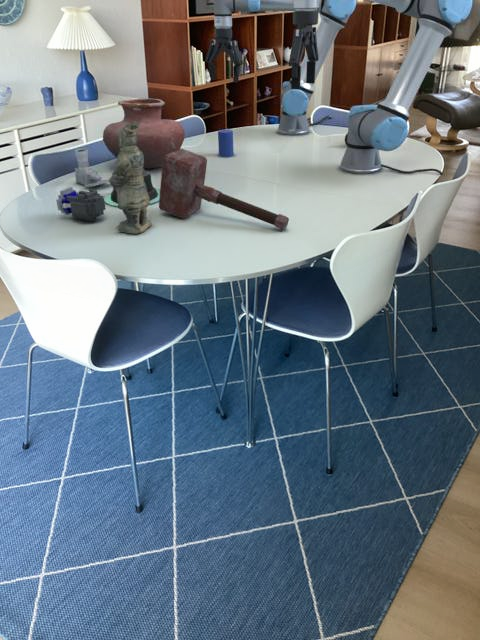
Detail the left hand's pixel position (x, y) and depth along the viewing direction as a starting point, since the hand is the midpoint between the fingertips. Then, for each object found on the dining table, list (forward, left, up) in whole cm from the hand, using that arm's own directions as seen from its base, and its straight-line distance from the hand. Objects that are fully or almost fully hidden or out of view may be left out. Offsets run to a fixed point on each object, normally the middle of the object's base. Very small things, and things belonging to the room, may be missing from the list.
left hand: (224, 81), depth 248 cm
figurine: (-26, +57, -25) cm, 67 cm away
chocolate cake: (+86, +29, -25) cm, 94 cm away
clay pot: (+57, +5, -25) cm, 62 cm away
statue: (+107, +50, -25) cm, 121 cm away
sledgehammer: (+87, +68, -25) cm, 113 cm away
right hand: (+46, +69, +8) cm, 83 cm away
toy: (+110, +31, -25) cm, 117 cm away
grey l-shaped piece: (+85, +5, -25) cm, 89 cm away
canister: (+25, +19, -25) cm, 40 cm away
